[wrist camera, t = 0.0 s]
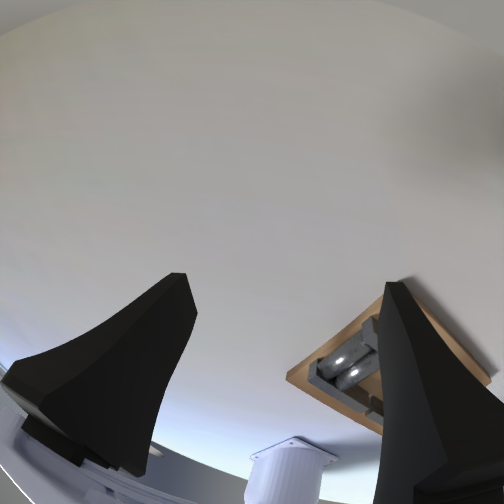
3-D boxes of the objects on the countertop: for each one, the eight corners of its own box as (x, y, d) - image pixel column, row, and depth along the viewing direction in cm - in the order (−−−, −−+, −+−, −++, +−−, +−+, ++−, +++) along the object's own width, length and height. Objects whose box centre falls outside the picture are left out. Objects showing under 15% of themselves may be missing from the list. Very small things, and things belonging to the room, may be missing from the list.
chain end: (360, 397, 24) (360, 413, 23) (309, 364, 24) (307, 381, 22) (420, 356, 21) (424, 373, 19) (371, 315, 21) (373, 332, 19)
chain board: (395, 435, 27) (395, 442, 26) (287, 372, 26) (285, 380, 25) (489, 375, 21) (491, 381, 21) (398, 280, 20) (400, 287, 19)
